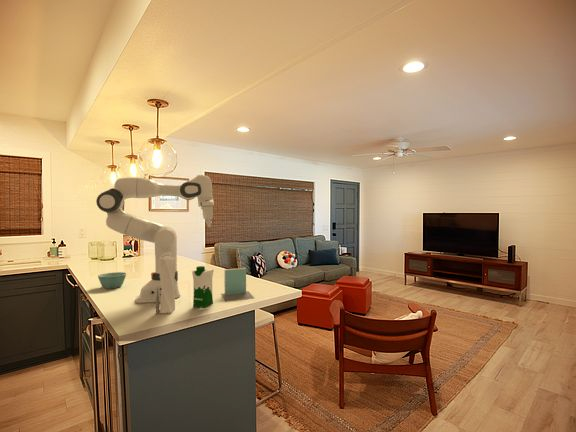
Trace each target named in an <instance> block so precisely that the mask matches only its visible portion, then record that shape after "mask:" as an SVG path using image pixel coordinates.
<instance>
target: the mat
mask: <svg viewBox="0 0 576 432" xmlns="http://www.w3.org/2000/svg"><path fill="white" fill-rule="evenodd" d="M220 295H221V297H222V298H223V301H224V302H233V301H236V302H237V301H243V300H245V301H246V300H251V299H256V298H255V296H253V295H252V293H251V292H250V291H249V290H246V293H240V294H229V295H225V292H224V293H220Z"/></svg>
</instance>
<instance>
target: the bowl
mask: <svg viewBox="0 0 576 432" xmlns="http://www.w3.org/2000/svg"><path fill="white" fill-rule="evenodd" d="M97 277H98V281H99V283H100V285H101V288H104V289H106V290H111V289H112V290H113V289H118V288H120V287H122V285H123V284H124V283H125V279H126V277H127V272H123V271H122V272H119V271H117V272H107V273H101V274H98V275H97Z"/></svg>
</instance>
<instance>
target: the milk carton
mask: <svg viewBox="0 0 576 432" xmlns="http://www.w3.org/2000/svg"><path fill="white" fill-rule="evenodd" d="M191 272H192V278H193V283H192V284H193V286H192V287H193V298H192V300H193V302H192V306H193V308H202V309H206V308H208V307H209V306H211V305H212V304H214V300H213V299H214V298H213V275H214V268H213V269H211V268H209V269H208V268H206V267H205V266H203V265H201V266H196V269H195V270H192V271H191Z"/></svg>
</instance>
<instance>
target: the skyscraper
mask: <svg viewBox="0 0 576 432" xmlns="http://www.w3.org/2000/svg"><path fill="white" fill-rule="evenodd" d="M165 254H170V256H171V253H165ZM165 254H163V255H165ZM163 255H162V256H163ZM162 256H161V257H162ZM170 256H166V257H164V258H162V259H161V257H160V263H159V267H160V281H161V286H162V289H161V302H159V296H158V287H157V297H156V302H155V313H154V315H155V316H157V315H159V316H160V315H171V314H173V312H174V311H175V310H176V300H175V299H176V298H175V296H174V287H173V283H174V278H175V257H170Z"/></svg>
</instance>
